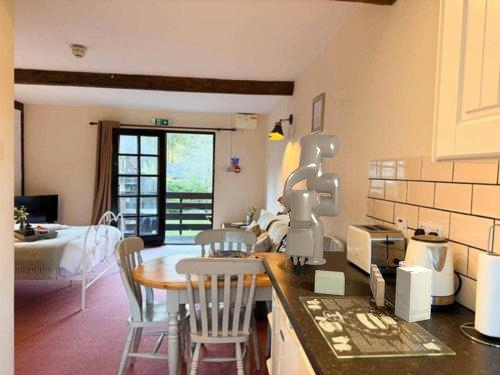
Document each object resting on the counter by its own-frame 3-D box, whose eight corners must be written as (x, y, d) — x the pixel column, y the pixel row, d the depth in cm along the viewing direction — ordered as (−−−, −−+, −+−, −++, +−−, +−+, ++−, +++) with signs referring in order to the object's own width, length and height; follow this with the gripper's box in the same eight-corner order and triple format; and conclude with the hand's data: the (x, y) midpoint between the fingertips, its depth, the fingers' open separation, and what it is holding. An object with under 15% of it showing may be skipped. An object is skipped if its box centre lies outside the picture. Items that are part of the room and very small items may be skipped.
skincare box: (415, 312, 108) (417, 264, 107) (431, 320, 102) (434, 269, 102) (393, 315, 105) (395, 266, 104) (408, 323, 99) (411, 271, 99)
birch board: (369, 285, 134) (370, 264, 133) (375, 285, 133) (376, 264, 133) (376, 305, 112) (378, 281, 112) (383, 306, 112) (384, 281, 112)
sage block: (315, 286, 131) (315, 270, 131) (342, 288, 129) (343, 272, 129) (314, 292, 124) (315, 276, 123) (344, 295, 121) (344, 278, 121)
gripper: (321, 225, 130) (319, 274, 131) (281, 222, 133) (279, 270, 134) (321, 227, 123) (319, 279, 123) (278, 225, 126) (276, 275, 127)
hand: (298, 274), depth 129 cm, fingers closed
